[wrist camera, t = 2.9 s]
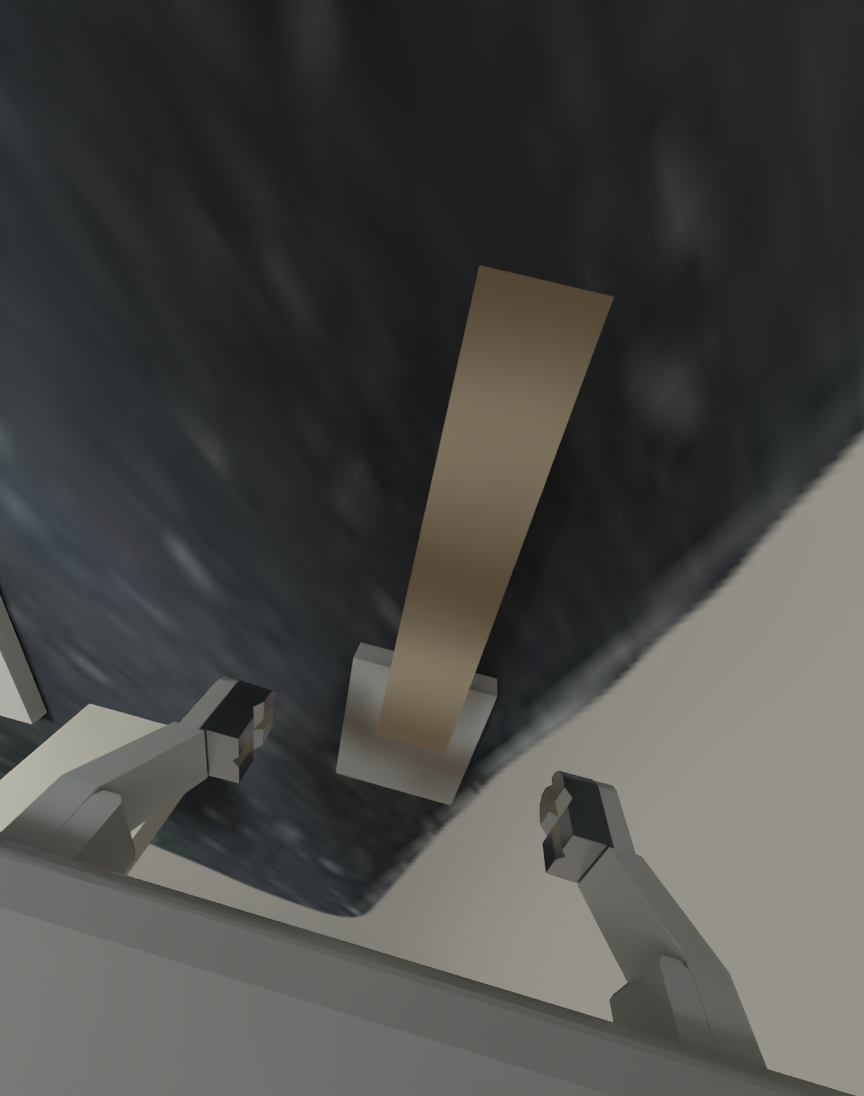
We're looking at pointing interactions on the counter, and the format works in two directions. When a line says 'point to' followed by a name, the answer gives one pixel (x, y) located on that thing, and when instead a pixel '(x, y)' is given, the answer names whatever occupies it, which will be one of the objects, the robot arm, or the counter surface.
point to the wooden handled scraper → (471, 533)
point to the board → (16, 677)
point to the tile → (78, 764)
